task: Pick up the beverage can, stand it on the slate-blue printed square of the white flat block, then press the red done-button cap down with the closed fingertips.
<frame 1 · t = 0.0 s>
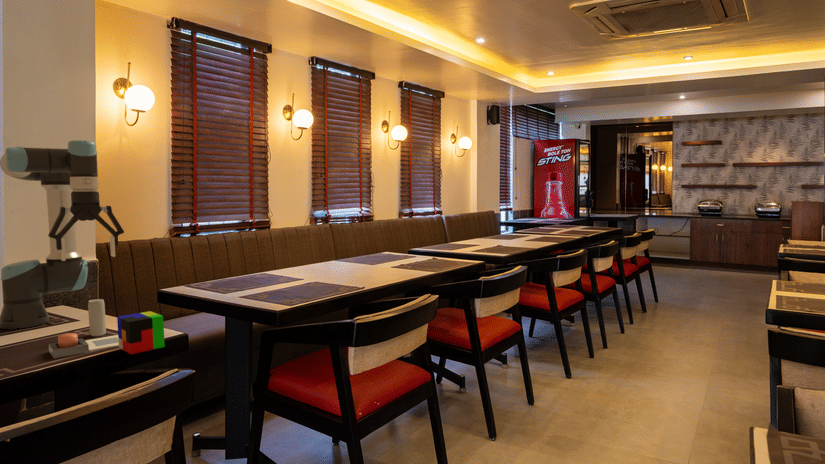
hand: (89, 258, 168), 28 cm above the table, fingers open, 13 cm apart
button collar: (68, 352, 163), on the table
puzzle toy: (141, 348, 168), on the table
white flat block: (106, 342, 173), on the table
beverage can: (98, 335, 182), on the table
done button: (68, 340, 163), point 4 cm above the table, slide at 0.0 cm
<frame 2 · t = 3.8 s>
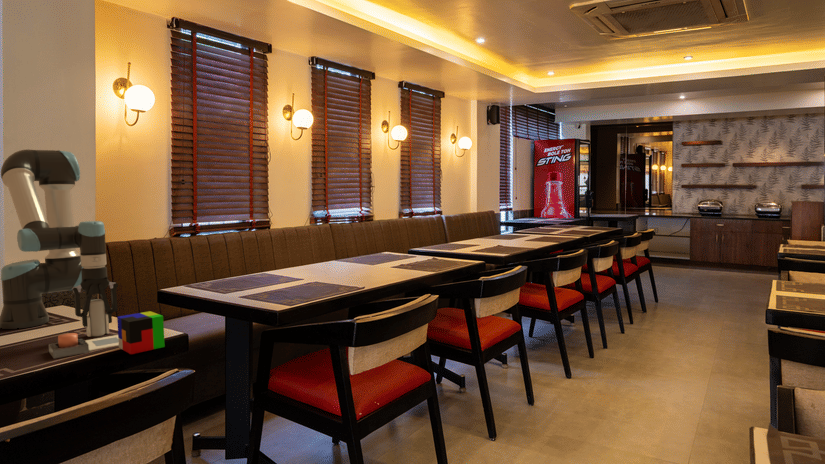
hand: (98, 334, 182), 0 cm above the table, fingers closed on beverage can, 5 cm apart
beverage can: (98, 335, 182), on the table, touching gripper
everything else where it was.
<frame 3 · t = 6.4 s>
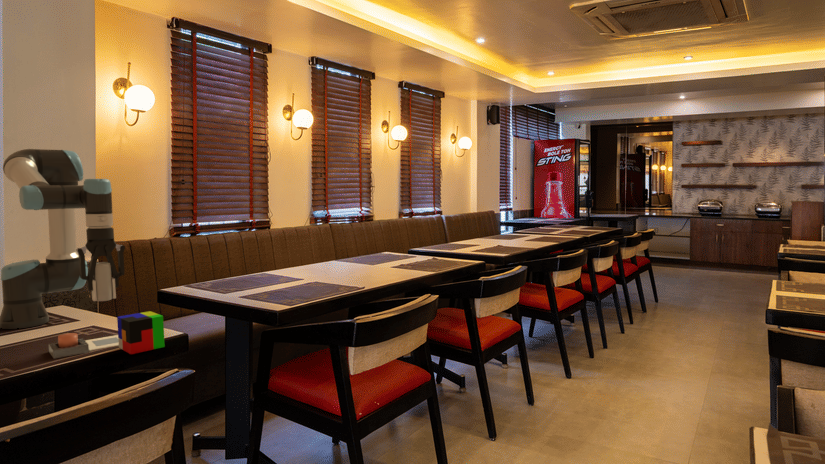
hand: (104, 299, 172), 14 cm above the table, fingers closed on beverage can, 5 cm apart
beverage can: (104, 300, 172), point 14 cm above the table, touching gripper
everything else where it was.
when the fingers open (2 cm above the table, at t = 9.2 s): beverage can stays where it is, resting on white flat block.
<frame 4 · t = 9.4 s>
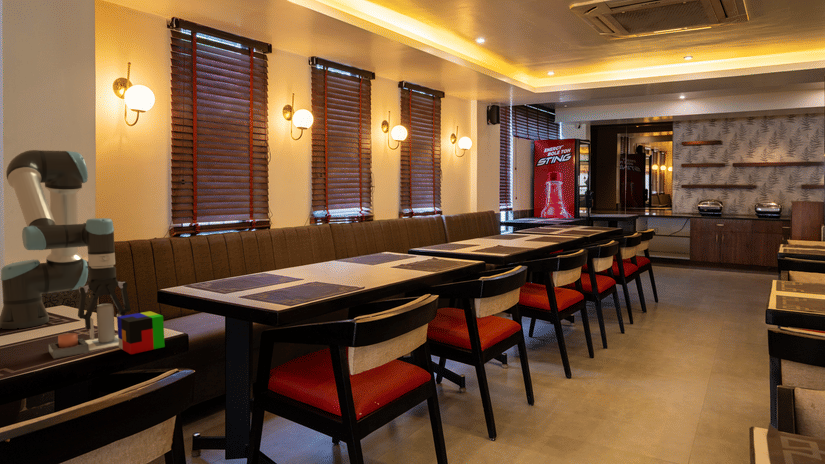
hand: (106, 336, 173), 2 cm above the table, fingers open, 7 cm apart
beverage can: (106, 341, 173), resting on white flat block
everything else where it was.
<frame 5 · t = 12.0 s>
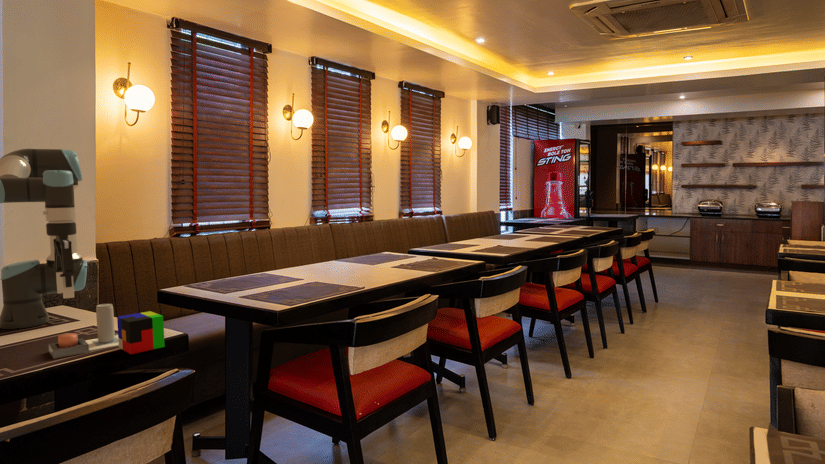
hand: (65, 295, 162), 18 cm above the table, fingers open, 10 cm apart
nothing on the table moved.
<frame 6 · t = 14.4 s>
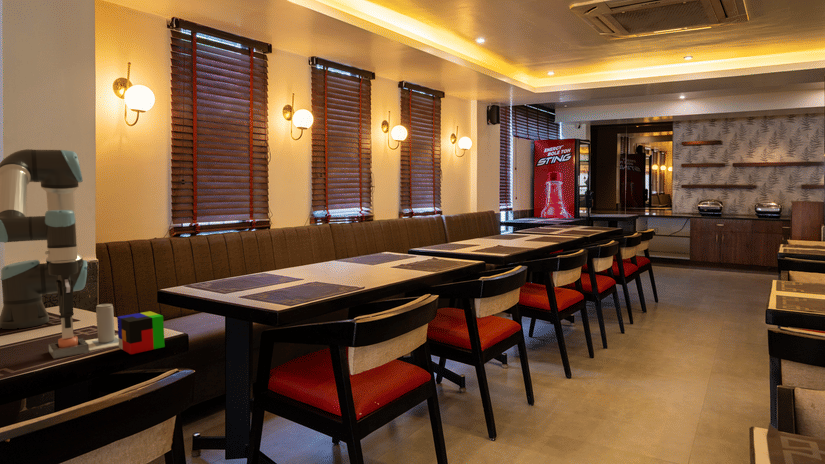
hand: (67, 337, 163), 5 cm above the table, fingers closed
done button: (68, 343, 163), point 3 cm above the table, slide at -1.0 cm, touching gripper
everything else where it was.
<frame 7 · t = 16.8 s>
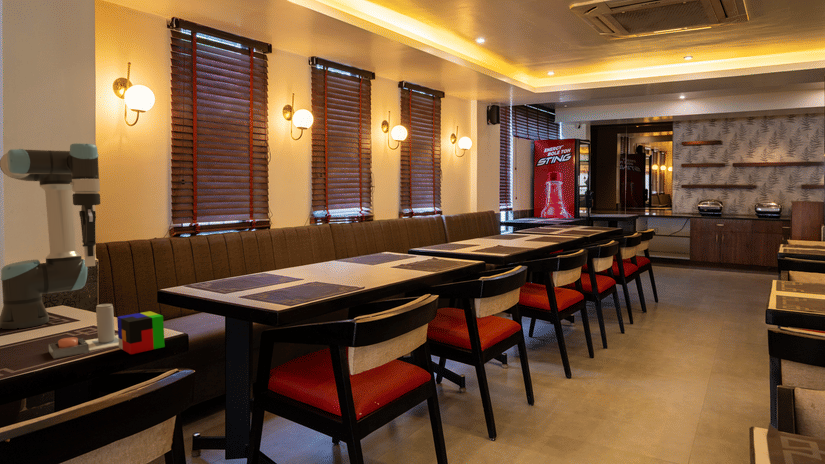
hand: (90, 265, 172), 25 cm above the table, fingers closed
done button: (68, 345, 163), point 2 cm above the table, slide at -1.4 cm
everything else where it was.
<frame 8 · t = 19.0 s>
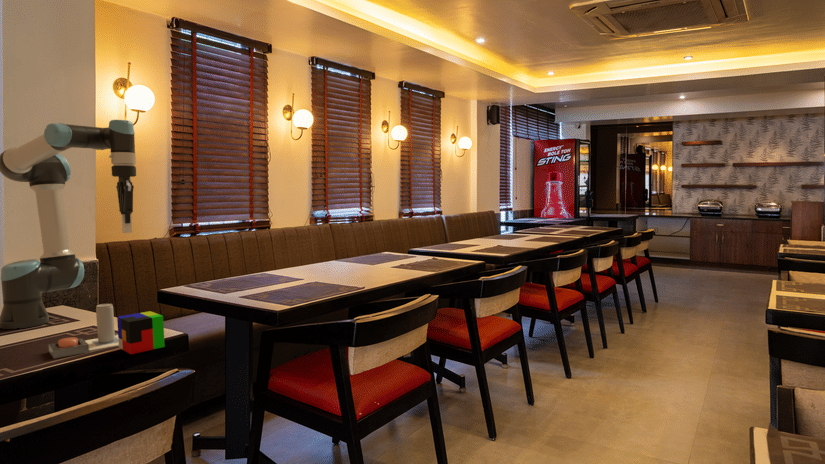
hand: (127, 232, 188), 34 cm above the table, fingers closed
nothing on the table moved.
at the end: beverage can inside the target area (0.1 cm from its centre), resting on white flat block; beverage can tilted 0°; done button slide at -1.4 cm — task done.
